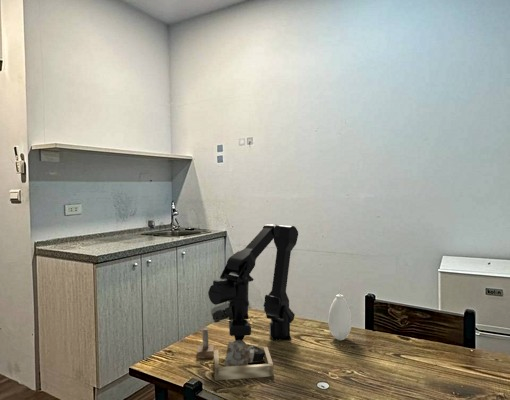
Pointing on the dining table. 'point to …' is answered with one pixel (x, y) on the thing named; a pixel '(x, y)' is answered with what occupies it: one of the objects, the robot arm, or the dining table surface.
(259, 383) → the dining table surface
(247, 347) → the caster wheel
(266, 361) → the cradle
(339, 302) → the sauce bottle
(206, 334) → the stand rod
